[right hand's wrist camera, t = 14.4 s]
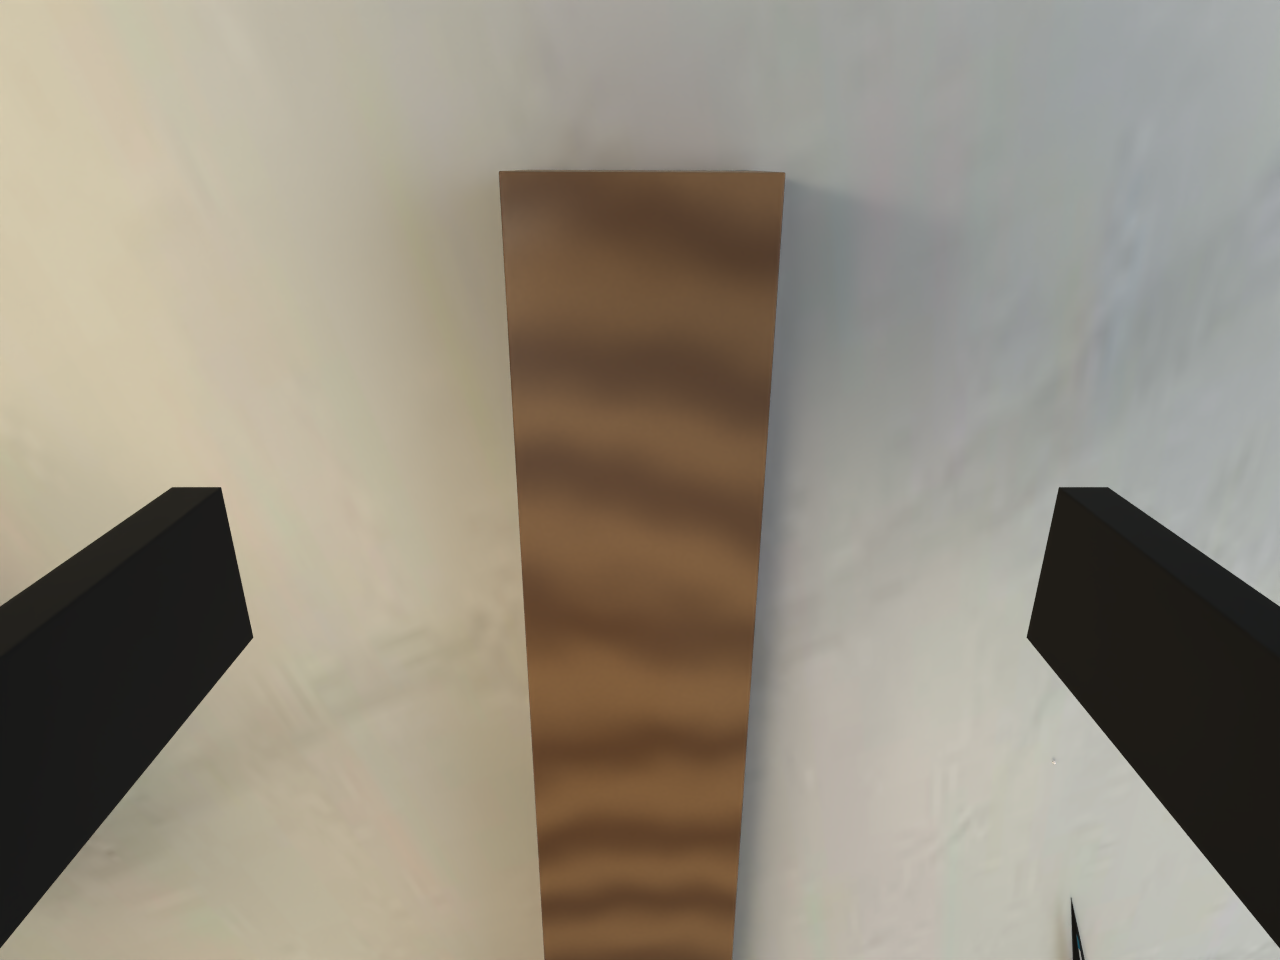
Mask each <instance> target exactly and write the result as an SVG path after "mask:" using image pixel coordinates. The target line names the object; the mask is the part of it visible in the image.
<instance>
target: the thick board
mask: <svg viewBox="0 0 1280 960" xmlns="http://www.w3.org/2000/svg"><path fill="white" fill-rule="evenodd" d="M499 183H500V200H501V217H502V234H503V252H504V269H505V286H506V303H507V321H508V338H509V355H510V372H511V390H512V407H513V424H514V441H515V458H516V476H517V493H518V510H519V527H520V545H521V562H522V579H523V596H524V613H525V631H526V648H527V665H528V682H529V700H530V717H531V734H532V751H533V769H534V786H535V803H536V820H537V837H538V855H539V872H540V889H541V906H542V924H543V941H544V958H545V960H732V953H733V938H734V924H735V909H736V894H737V879H738V865H739V850H740V835H741V820H742V805H743V791H744V776H745V761H746V746H747V732H748V717H749V702H750V687H751V673H752V658H753V643H754V628H755V614H756V599H757V584H758V569H759V555H760V540H761V525H762V510H763V496H764V481H765V466H766V451H767V437H768V422H769V407H770V392H771V378H772V363H773V348H774V333H775V319H776V304H777V289H778V274H779V260H780V245H781V230H782V215H783V201H784V186H785V173H784V172H766V171H657V170H515V171H500V172H499Z"/></svg>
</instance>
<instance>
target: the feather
mask: <svg viewBox="0 0 1280 960" xmlns="http://www.w3.org/2000/svg"><path fill="white" fill-rule="evenodd" d="M1052 763H1053V764H1056V761H1052ZM1071 911H1072V944H1073V960H1080V957H1079V950H1080V951H1081V957H1082V960H1085V959H1084V955H1083V950H1082V945H1081V941H1080V936H1079V932H1078V927H1077V922H1076V918H1075V913H1074V909H1073V904H1072V899H1071ZM1078 948H1079V949H1078Z"/></svg>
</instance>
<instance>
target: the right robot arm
mask: <svg viewBox="0 0 1280 960" xmlns="http://www.w3.org/2000/svg"><path fill="white" fill-rule="evenodd" d="M252 638H253V634H252V629H251V625H250V620H249V615H248V611H247V606H246V601H245V597H244V592H243V587H242V583H241V578H240V573H239V569H238V564H237V560H236V555H235V550H234V546H233V541H232V536H231V532H230V527H229V522H228V518H227V513H226V508H225V504H224V499H223V494H222V490H221V487H172V488H170V489H169V490H168V491H166V492H165V493H163V494H162V495H160V496H159V497H157V498H156V499H155V500H153V501H152V502H150V503H149V504H147V505H146V506H145V507H143V508H142V509H140V510H139V511H137V512H136V513H134V514H133V515H132V516H130V517H129V518H127V519H126V520H124V521H123V522H121V523H120V524H119V525H117V526H116V527H114V528H113V529H111V530H110V531H109V532H107V533H106V534H104V535H103V536H101V537H100V538H98V539H97V540H96V541H94V542H93V543H91V544H90V545H88V546H87V547H85V548H84V549H83V550H81V551H80V552H78V553H77V554H75V555H74V556H72V557H71V558H70V559H68V560H67V561H65V562H64V563H62V564H61V565H60V566H58V567H57V568H55V569H54V570H52V571H51V572H49V573H48V574H47V575H45V576H44V577H42V578H41V579H39V580H38V581H36V582H35V583H34V584H32V585H31V586H29V587H28V588H26V589H25V590H23V591H22V592H21V593H19V594H18V595H16V596H15V597H13V598H12V599H11V600H9V601H8V602H6V603H5V604H3V605H2V606H0V948H1V947H2V945H3V944H4V943H5V942H6V941H7V939H8V938H9V937H10V936H11V934H12V933H13V932H14V931H15V929H16V928H17V927H18V926H19V925H20V923H21V922H22V921H23V920H24V918H25V917H26V916H27V915H28V913H29V912H30V911H31V910H32V909H33V907H34V906H35V905H36V904H37V902H38V901H39V900H40V899H41V898H42V896H43V895H44V894H45V893H46V891H47V890H48V889H49V888H50V886H51V885H52V884H53V883H54V882H55V880H56V879H57V878H58V877H59V875H60V874H61V873H62V872H63V871H64V869H65V868H66V867H67V866H68V864H69V863H70V862H71V861H72V859H73V858H74V857H75V856H76V855H77V853H78V852H79V851H80V850H81V848H82V847H83V846H84V845H85V844H86V842H87V841H88V840H89V839H90V837H91V836H92V835H93V834H94V832H95V831H96V830H97V829H98V828H99V826H100V825H101V824H102V823H103V821H104V820H105V819H106V818H107V816H108V815H109V814H110V813H111V812H112V810H113V809H114V808H115V807H116V805H117V804H118V803H119V802H120V801H121V799H122V798H123V797H124V796H125V794H126V793H127V792H128V791H129V789H130V788H131V787H132V786H133V785H134V783H135V782H136V781H137V780H138V778H139V777H140V776H141V775H142V774H143V772H144V771H145V770H146V769H147V767H148V766H149V765H150V764H151V762H152V761H153V760H154V759H155V758H156V756H157V755H158V754H159V753H160V751H161V750H162V749H163V748H164V747H165V745H166V744H167V743H168V742H169V740H170V739H171V738H172V737H173V735H174V734H175V733H176V732H177V731H178V729H179V728H180V727H181V726H182V724H183V723H184V722H185V721H186V719H187V718H188V717H189V716H190V715H191V713H192V712H193V711H194V710H195V708H196V707H197V706H198V705H199V704H200V702H201V701H202V700H203V699H204V697H205V696H206V695H207V694H208V692H209V691H210V690H211V689H212V688H213V686H214V685H215V684H216V683H217V681H218V680H219V679H220V678H221V677H222V675H223V674H224V673H225V672H226V670H227V669H228V668H229V667H230V665H231V664H232V663H233V662H234V661H235V659H236V658H237V657H238V656H239V654H240V653H241V652H242V651H243V650H244V648H245V647H246V646H247V645H248V643H249V642H250V641H251V640H252ZM1027 638H1028V640H1029V641H1030V642H1031V643H1032V645H1033V646H1034V647H1035V648H1036V650H1037V651H1038V652H1039V653H1040V654H1041V656H1042V657H1043V658H1044V659H1045V661H1046V662H1047V663H1048V664H1049V665H1050V667H1051V668H1052V669H1053V670H1054V672H1055V673H1056V674H1057V675H1058V677H1059V678H1060V679H1061V680H1062V681H1063V683H1064V684H1065V685H1066V686H1067V688H1068V689H1069V690H1070V691H1071V692H1072V694H1073V695H1074V696H1075V697H1076V699H1077V700H1078V701H1079V702H1080V704H1081V705H1082V706H1083V707H1084V708H1085V710H1086V711H1087V712H1088V713H1089V715H1090V716H1091V717H1092V718H1093V719H1094V721H1095V722H1096V723H1097V724H1098V726H1099V727H1100V728H1101V729H1102V731H1103V732H1104V733H1105V734H1106V735H1107V737H1108V738H1109V739H1110V740H1111V742H1112V743H1113V744H1114V745H1115V747H1116V748H1117V749H1118V750H1119V751H1120V753H1121V754H1122V755H1123V756H1124V758H1125V759H1126V760H1127V761H1128V762H1129V764H1130V765H1131V766H1132V767H1133V769H1134V770H1135V771H1136V772H1137V774H1138V775H1139V776H1140V777H1141V778H1142V780H1143V781H1144V782H1145V783H1146V785H1147V786H1148V787H1149V788H1150V789H1151V791H1152V792H1153V793H1154V794H1155V796H1156V797H1157V798H1158V799H1159V801H1160V802H1161V803H1162V804H1163V805H1164V807H1165V808H1166V809H1167V810H1168V812H1169V813H1170V814H1171V815H1172V816H1173V818H1174V819H1175V820H1176V821H1177V823H1178V824H1179V825H1180V826H1181V828H1182V829H1183V830H1184V831H1185V832H1186V834H1187V835H1188V836H1189V837H1190V839H1191V840H1192V841H1193V842H1194V844H1195V845H1196V846H1197V847H1198V848H1199V850H1200V851H1201V852H1202V853H1203V855H1204V856H1205V857H1206V858H1207V859H1208V861H1209V862H1210V863H1211V864H1212V866H1213V867H1214V868H1215V869H1216V871H1217V872H1218V873H1219V874H1220V875H1221V877H1222V878H1223V879H1224V880H1225V882H1226V883H1227V884H1228V885H1229V886H1230V888H1231V889H1232V890H1233V891H1234V893H1235V894H1236V895H1237V896H1238V898H1239V899H1240V900H1241V901H1242V902H1243V904H1244V905H1245V906H1246V907H1247V909H1248V910H1249V911H1250V912H1251V913H1252V915H1253V916H1254V917H1255V918H1256V920H1257V921H1258V922H1259V923H1260V925H1261V926H1262V927H1263V928H1264V929H1265V931H1266V932H1267V933H1268V934H1269V936H1270V937H1271V938H1272V939H1273V941H1274V942H1275V943H1276V944H1277V945H1278V947H1279V948H1280V606H1278V605H1277V604H1275V603H1274V602H1272V601H1271V600H1269V599H1268V598H1267V597H1265V596H1264V595H1262V594H1261V593H1259V592H1258V591H1257V590H1255V589H1254V588H1252V587H1251V586H1249V585H1248V584H1246V583H1245V582H1244V581H1242V580H1241V579H1239V578H1238V577H1236V576H1235V575H1233V574H1232V573H1231V572H1229V571H1228V570H1226V569H1225V568H1223V567H1222V566H1220V565H1219V564H1218V563H1216V562H1215V561H1213V560H1212V559H1210V558H1209V557H1208V556H1206V555H1205V554H1203V553H1202V552H1200V551H1199V550H1197V549H1196V548H1195V547H1193V546H1192V545H1190V544H1189V543H1187V542H1186V541H1184V540H1183V539H1182V538H1180V537H1179V536H1177V535H1176V534H1174V533H1173V532H1171V531H1170V530H1169V529H1167V528H1166V527H1164V526H1163V525H1161V524H1160V523H1159V522H1157V521H1156V520H1154V519H1153V518H1151V517H1150V516H1148V515H1147V514H1146V513H1144V512H1143V511H1141V510H1140V509H1138V508H1137V507H1135V506H1134V505H1133V504H1131V503H1130V502H1128V501H1127V500H1125V499H1124V498H1123V497H1121V496H1120V495H1118V494H1117V493H1115V492H1114V491H1112V490H1111V489H1110V488H1108V487H1059V490H1058V494H1057V499H1056V504H1055V508H1054V513H1053V518H1052V522H1051V527H1050V532H1049V536H1048V541H1047V546H1046V550H1045V555H1044V560H1043V564H1042V569H1041V573H1040V578H1039V583H1038V587H1037V592H1036V597H1035V601H1034V606H1033V611H1032V615H1031V620H1030V625H1029V629H1028V634H1027Z"/></svg>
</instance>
